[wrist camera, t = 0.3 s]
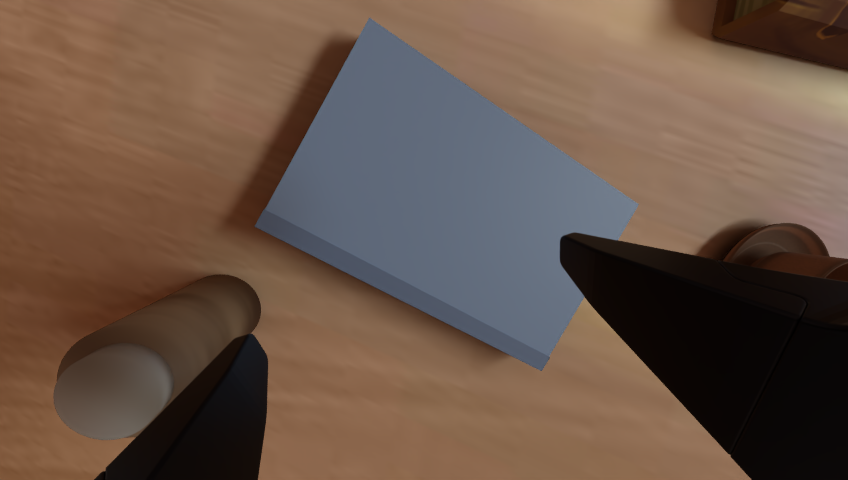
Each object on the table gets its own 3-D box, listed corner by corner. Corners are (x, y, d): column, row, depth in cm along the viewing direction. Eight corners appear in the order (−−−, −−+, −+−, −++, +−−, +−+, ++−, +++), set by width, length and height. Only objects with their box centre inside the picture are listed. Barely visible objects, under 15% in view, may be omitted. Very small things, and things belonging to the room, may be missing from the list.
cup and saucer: (823, 246, 31) (934, 259, 24) (769, 361, 31) (864, 401, 25) (729, 202, 28) (827, 203, 22) (674, 327, 29) (753, 362, 23)
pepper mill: (240, 354, 23) (144, 472, 13) (168, 325, 22) (7, 429, 12) (273, 294, 23) (201, 368, 13) (203, 261, 22) (67, 315, 12)
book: (522, 351, 27) (541, 371, 24) (270, 222, 22) (254, 226, 19) (609, 203, 26) (639, 204, 23) (368, 41, 22) (368, 16, 19)
